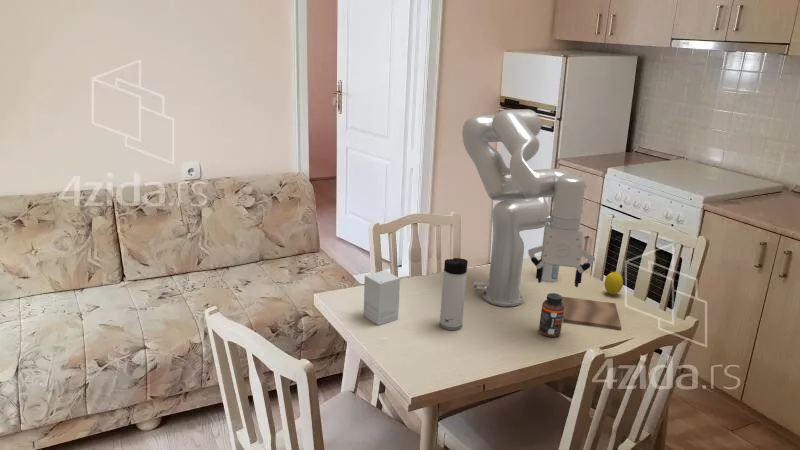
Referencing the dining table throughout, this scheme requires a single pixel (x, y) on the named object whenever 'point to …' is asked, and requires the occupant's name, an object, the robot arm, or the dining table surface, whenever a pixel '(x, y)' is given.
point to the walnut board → (591, 313)
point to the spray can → (549, 268)
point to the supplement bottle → (551, 315)
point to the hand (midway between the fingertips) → (557, 283)
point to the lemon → (613, 282)
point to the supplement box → (381, 297)
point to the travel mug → (453, 293)
